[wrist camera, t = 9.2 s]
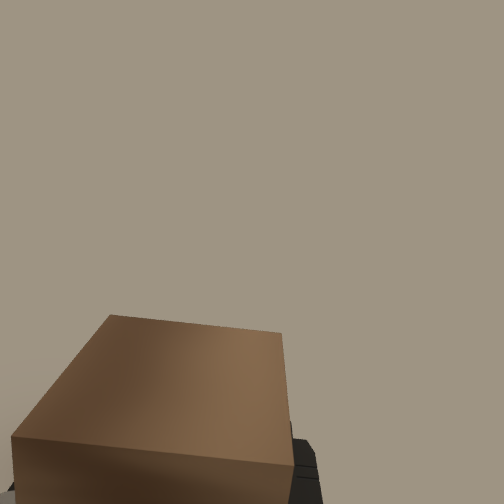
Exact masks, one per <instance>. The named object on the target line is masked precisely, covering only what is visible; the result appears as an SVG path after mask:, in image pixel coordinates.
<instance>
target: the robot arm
mask: <svg viewBox="0 0 504 504" xmlns="http://www.w3.org/2000/svg"><path fill="white" fill-rule="evenodd" d="M290 427H291V437H292V448H293V458H294V470H293V476H292V482H291V488H290V494H289V500H288V504H323V500H322V495H321V488H320V482H319V475H318V470H317V463H316V457H315V452H314V451H313V449H312V448H311V446H310V445H309V443H308V442H307V440H303V439H293V435H292V425H291V421H290ZM0 504H16V502H15V488H14V482H13V484H12V485H11V486H10V488H9V489H8V491H7V492H4V493H1V494H0Z"/></svg>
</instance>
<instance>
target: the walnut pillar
mask: <svg viewBox="0 0 504 504" xmlns="http://www.w3.org/2000/svg"><path fill="white" fill-rule="evenodd" d="M11 442H12V458H13V473H14V488H15V502H16V504H288V500H289V494H290V488H291V482H292V476H293V470H294V458H293V448H292V437H291V427H290V416H289V406H288V396H287V385H286V375H285V365H284V354H283V345H282V334H281V333H275V332H266V331H257V330H248V329H238V328H229V327H220V326H210V325H201V324H192V323H182V322H173V321H164V320H155V319H146V318H136V317H127V316H118V315H109V317H108V318H107V319H106V320H105V321H104V323H103V324H102V325H101V326H100V328H99V329H98V330H97V331H96V332H95V334H94V335H93V336H92V338H91V339H90V340H89V341H88V342H87V344H86V345H85V346H84V347H83V349H82V350H81V351H80V352H79V353H78V355H77V356H76V357H75V358H74V360H73V361H72V362H71V363H70V364H69V366H68V367H67V368H66V369H65V370H64V372H63V373H62V374H61V376H60V377H59V378H58V379H57V380H56V382H55V383H54V384H53V385H52V387H51V388H50V389H49V390H48V391H47V393H46V394H45V395H44V396H43V397H42V399H41V400H40V401H39V402H38V404H37V405H36V406H35V407H34V409H33V410H32V411H31V412H30V414H29V415H28V416H27V417H26V418H25V420H24V421H23V422H22V423H21V424H20V426H19V427H18V428H17V430H16V431H15V432H14V433H13V434H12V436H11Z"/></svg>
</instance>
